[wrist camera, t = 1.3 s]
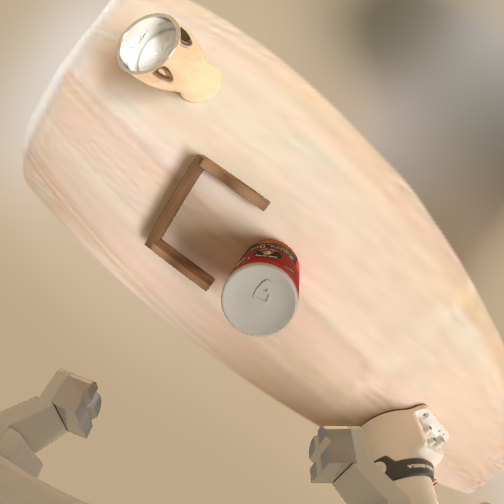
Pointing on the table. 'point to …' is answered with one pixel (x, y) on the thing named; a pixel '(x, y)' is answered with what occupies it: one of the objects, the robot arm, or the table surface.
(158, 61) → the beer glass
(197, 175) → the open wooden square
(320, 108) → the table surface
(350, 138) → the table surface
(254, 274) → the canned food
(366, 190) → the table surface
